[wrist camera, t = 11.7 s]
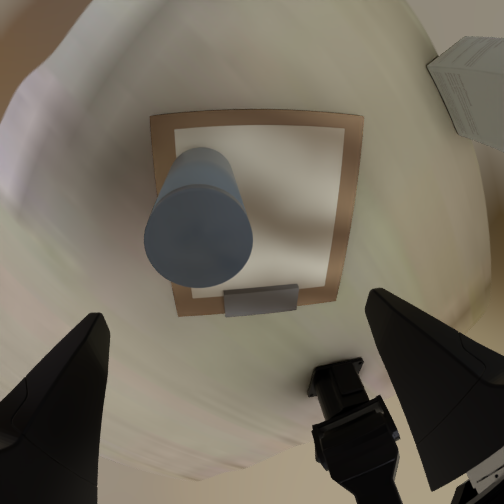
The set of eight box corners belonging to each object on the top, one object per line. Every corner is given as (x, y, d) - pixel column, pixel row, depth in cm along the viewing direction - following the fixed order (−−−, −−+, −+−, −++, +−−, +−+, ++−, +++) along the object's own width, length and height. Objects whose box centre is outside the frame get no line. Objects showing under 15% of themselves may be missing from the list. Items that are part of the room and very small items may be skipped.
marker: (231, 197, 19) (253, 283, 11) (174, 202, 19) (154, 291, 11) (230, 141, 17) (253, 187, 9) (169, 145, 17) (135, 197, 9)
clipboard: (333, 296, 26) (338, 305, 25) (178, 311, 24) (177, 322, 23) (360, 115, 18) (369, 117, 17) (151, 115, 16) (147, 117, 15)
